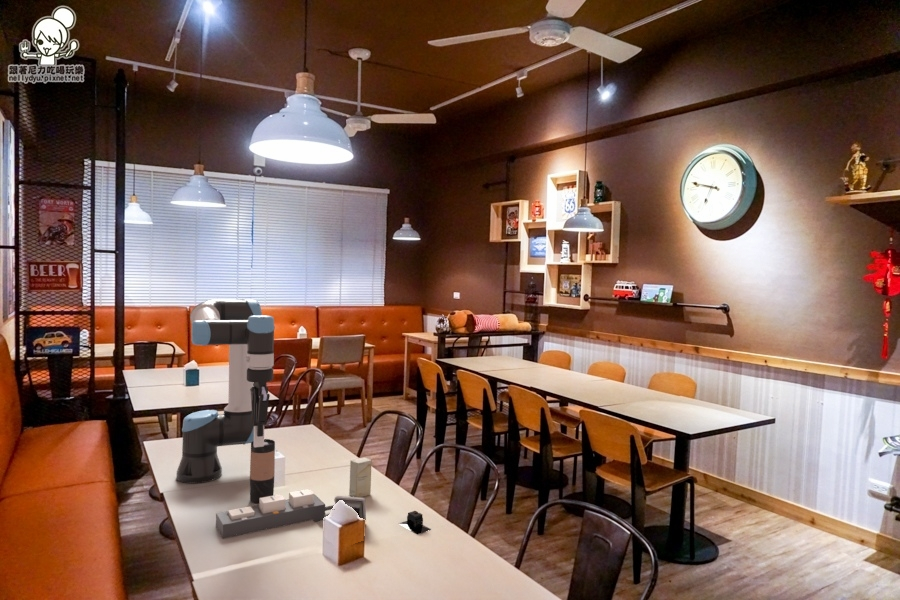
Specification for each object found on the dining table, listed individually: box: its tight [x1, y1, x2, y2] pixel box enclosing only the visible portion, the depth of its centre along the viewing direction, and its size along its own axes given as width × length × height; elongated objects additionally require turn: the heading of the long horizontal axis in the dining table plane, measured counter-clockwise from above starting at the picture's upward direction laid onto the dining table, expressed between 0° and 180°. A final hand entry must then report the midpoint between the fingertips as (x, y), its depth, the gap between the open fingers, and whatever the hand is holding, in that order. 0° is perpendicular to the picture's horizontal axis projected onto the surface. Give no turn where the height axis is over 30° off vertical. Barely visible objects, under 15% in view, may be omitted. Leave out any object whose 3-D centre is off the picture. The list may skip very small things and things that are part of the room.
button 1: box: [227, 505, 254, 520], centre depth 169 cm, size 4×6×5 cm
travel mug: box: [249, 438, 276, 505], centre depth 189 cm, size 8×8×20 cm
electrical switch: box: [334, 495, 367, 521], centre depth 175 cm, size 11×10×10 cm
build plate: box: [398, 510, 432, 536], centre depth 176 cm, size 12×7×5 cm, turn 42°
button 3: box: [288, 488, 315, 508], centre depth 179 cm, size 4×6×5 cm
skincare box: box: [348, 456, 373, 498], centre depth 199 cm, size 6×4×12 cm
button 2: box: [258, 494, 286, 514], centre depth 174 cm, size 4×6×5 cm
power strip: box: [215, 493, 335, 539], centre depth 175 cm, size 9×36×5 cm, turn 124°
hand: (258, 446), depth 173 cm, fingers closed
